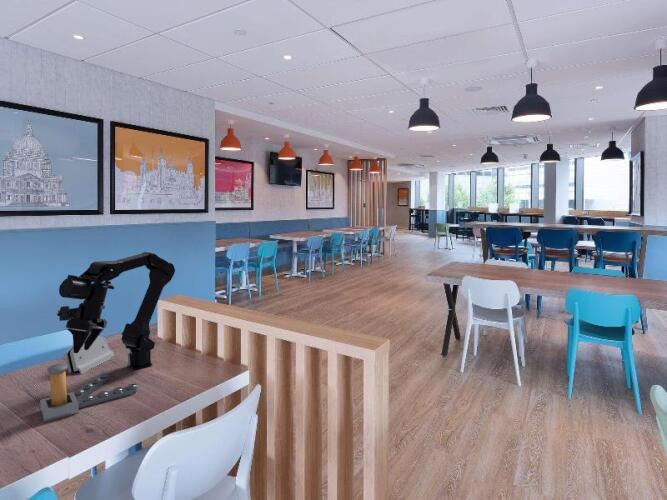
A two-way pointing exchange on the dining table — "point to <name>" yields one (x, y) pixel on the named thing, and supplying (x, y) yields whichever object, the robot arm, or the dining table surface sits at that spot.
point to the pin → (58, 384)
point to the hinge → (88, 356)
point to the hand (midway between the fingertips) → (80, 351)
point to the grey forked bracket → (84, 398)
